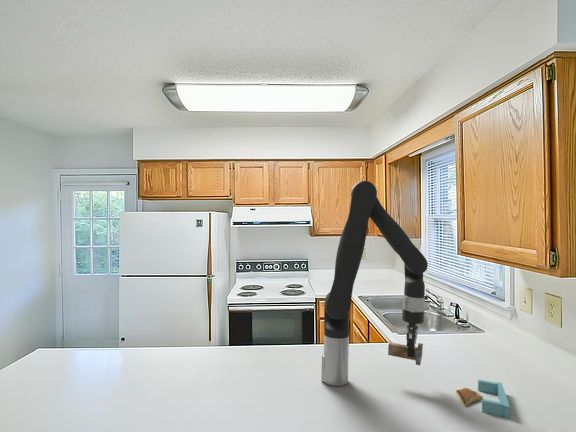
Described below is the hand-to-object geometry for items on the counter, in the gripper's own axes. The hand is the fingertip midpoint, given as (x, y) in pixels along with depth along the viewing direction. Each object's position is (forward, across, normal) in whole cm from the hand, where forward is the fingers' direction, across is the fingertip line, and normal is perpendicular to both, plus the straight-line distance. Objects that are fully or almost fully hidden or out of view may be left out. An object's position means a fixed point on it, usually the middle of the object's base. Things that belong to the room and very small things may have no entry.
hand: (410, 355), depth 133 cm
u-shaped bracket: (+11, -1, +26) cm, 28 cm away
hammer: (+1, 0, -3) cm, 3 cm away
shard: (+11, 0, +20) cm, 23 cm away
